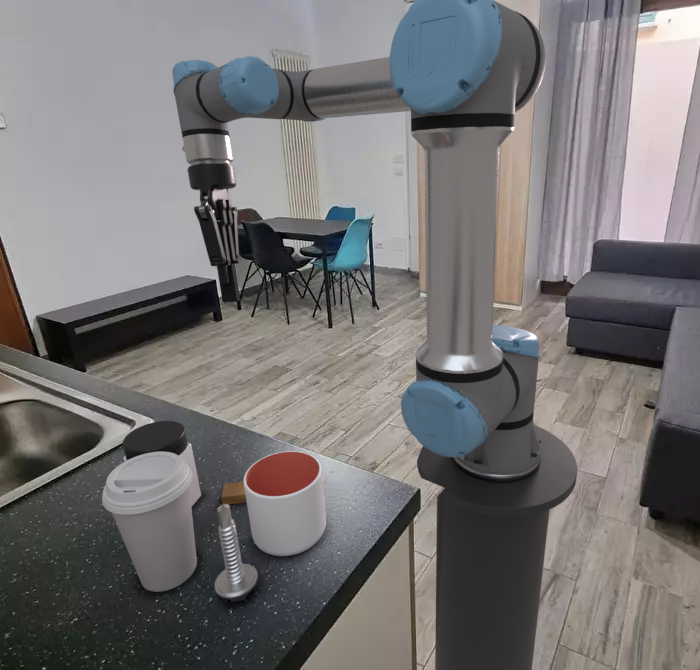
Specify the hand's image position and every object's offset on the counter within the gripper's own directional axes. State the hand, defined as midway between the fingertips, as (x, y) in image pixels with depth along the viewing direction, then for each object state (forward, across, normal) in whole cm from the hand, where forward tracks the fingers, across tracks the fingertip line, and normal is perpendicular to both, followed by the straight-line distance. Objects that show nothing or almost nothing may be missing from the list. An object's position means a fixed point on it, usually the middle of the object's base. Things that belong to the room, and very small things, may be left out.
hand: (231, 301), depth 88 cm
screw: (+30, +37, +11) cm, 49 cm away
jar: (+27, +22, -5) cm, 35 cm away
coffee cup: (+29, +34, +1) cm, 45 cm away
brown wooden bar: (+27, +19, +9) cm, 35 cm away
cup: (+29, +28, +15) cm, 43 cm away
